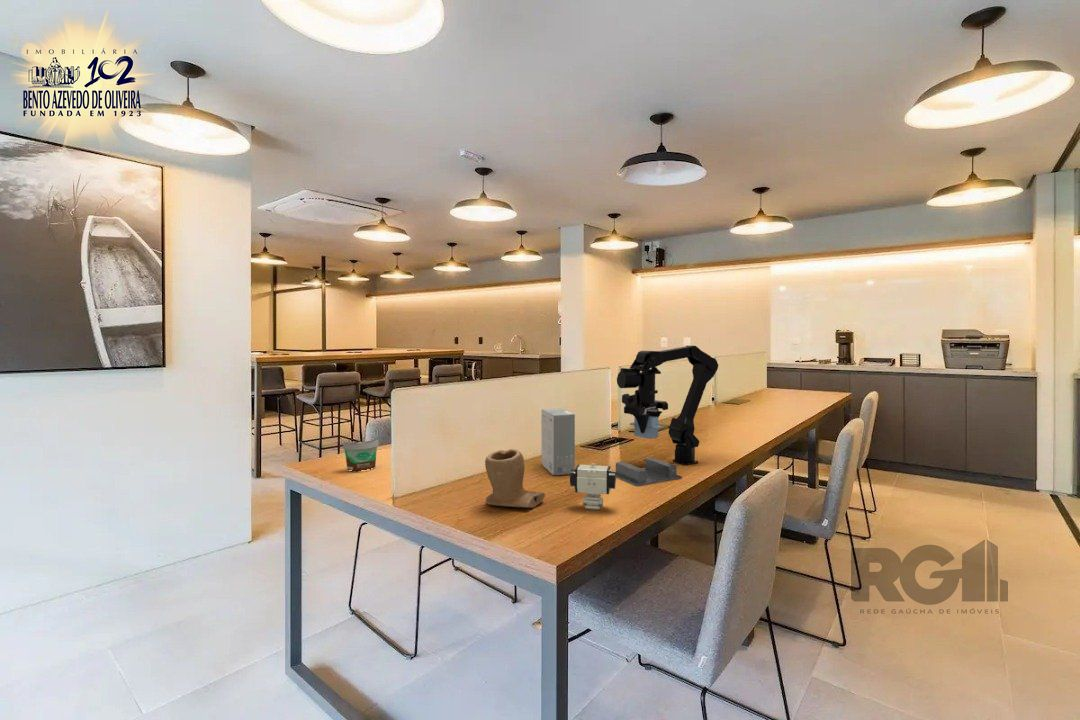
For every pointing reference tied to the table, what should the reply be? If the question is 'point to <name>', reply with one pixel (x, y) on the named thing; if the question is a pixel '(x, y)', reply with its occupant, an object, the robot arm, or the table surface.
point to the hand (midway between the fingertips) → (646, 432)
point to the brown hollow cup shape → (509, 480)
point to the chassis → (647, 472)
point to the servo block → (647, 428)
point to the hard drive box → (558, 441)
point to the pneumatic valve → (593, 483)
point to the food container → (361, 455)
